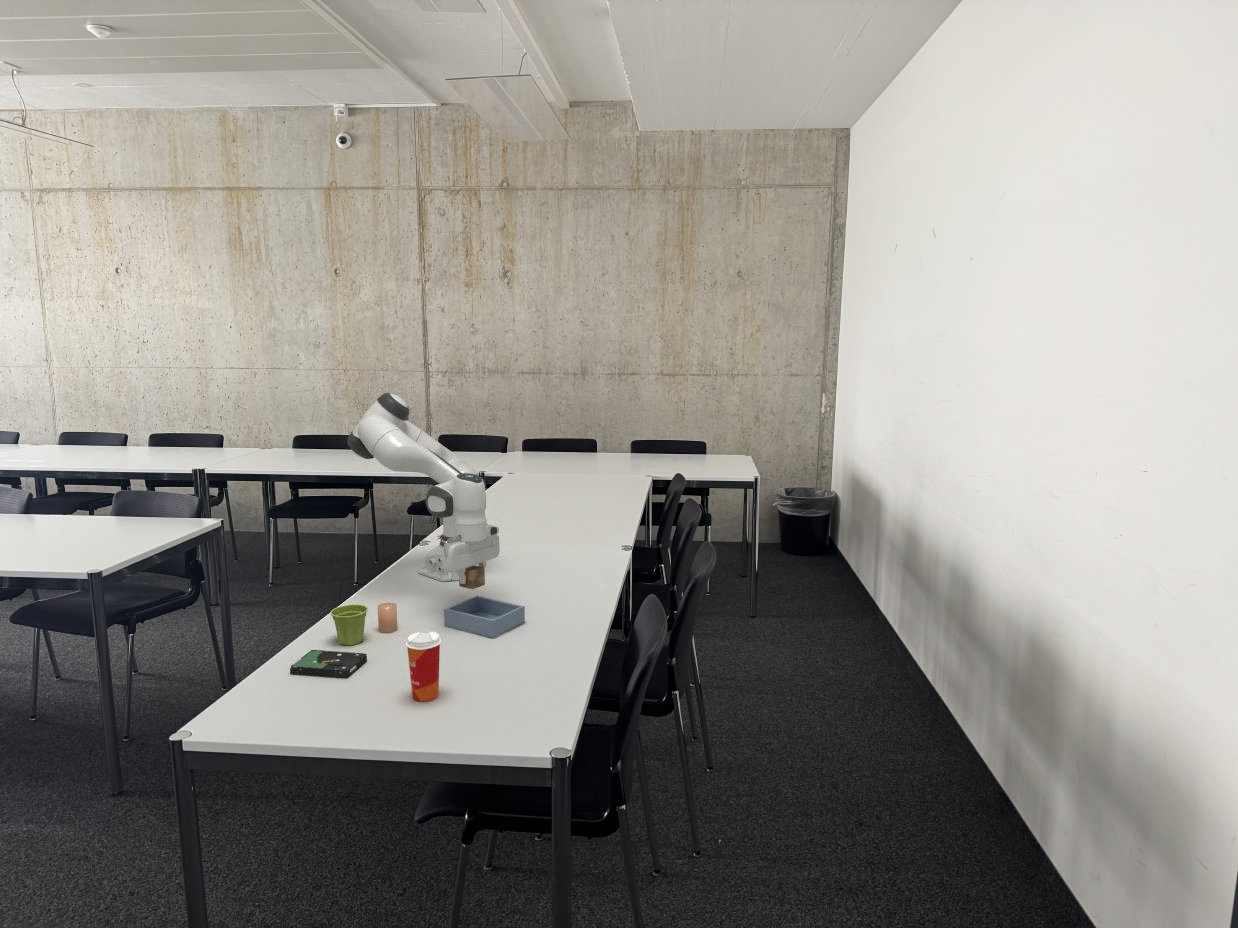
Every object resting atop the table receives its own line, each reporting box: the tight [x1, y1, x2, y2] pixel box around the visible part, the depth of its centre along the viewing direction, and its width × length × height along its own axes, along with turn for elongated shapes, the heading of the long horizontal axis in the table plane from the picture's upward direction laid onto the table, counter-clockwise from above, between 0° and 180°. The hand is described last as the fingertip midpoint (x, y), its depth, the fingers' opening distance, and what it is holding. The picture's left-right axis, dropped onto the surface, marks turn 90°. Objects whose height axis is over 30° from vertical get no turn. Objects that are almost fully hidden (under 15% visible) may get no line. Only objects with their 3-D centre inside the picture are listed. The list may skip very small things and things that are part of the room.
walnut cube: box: [458, 566, 486, 590], centre depth 219 cm, size 5×5×5 cm
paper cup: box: [405, 631, 442, 703], centre depth 174 cm, size 8×8×14 cm
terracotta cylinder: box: [377, 602, 399, 635], centre depth 214 cm, size 5×5×7 cm
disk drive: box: [289, 649, 368, 680], centre depth 190 cm, size 10×3×15 cm
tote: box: [443, 595, 526, 640], centre depth 218 cm, size 18×14×5 cm
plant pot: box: [329, 604, 369, 646], centre depth 206 cm, size 9×9×9 cm
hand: (471, 580), depth 219 cm, fingers closed on walnut cube, 5 cm apart
